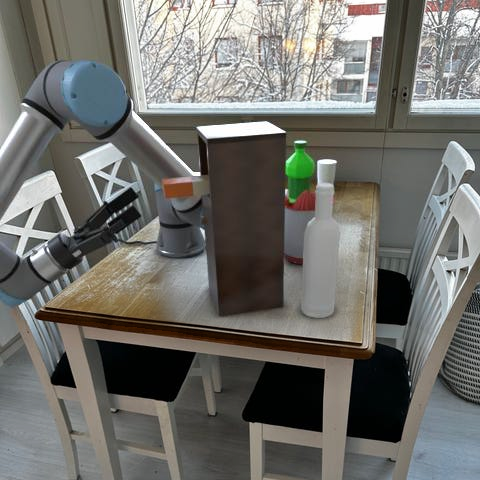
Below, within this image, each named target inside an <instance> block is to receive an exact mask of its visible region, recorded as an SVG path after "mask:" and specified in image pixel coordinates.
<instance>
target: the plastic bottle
mask: <svg viewBox="0 0 480 480" xmlns="http://www.w3.org/2000/svg"><path fill="white" fill-rule="evenodd" d="M307 146H308V142H307V141H306V140H295V141H294V142H293V149H294V151H295V152H294V153H292V155H290V157H289V158H288V159H286V177H287V189H288V190H289V199H290V202H292V203H293V202H295V201H296V199H297V198H298V197H299V196H300V195H301V194H302V193H303V192H304V191H305V190H308V191H310V192H311V176H312V175H313V174H314V172H315V167H316V163H315V161H314V159H313V158H312V157H311V156H310V155H309V154H308V153H306V148H307Z"/></svg>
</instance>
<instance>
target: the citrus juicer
mask: <svg viewBox="0 0 480 480" xmlns="http://www.w3.org/2000/svg"><path fill="white" fill-rule="evenodd" d="M315 203H316V194H315V192H311V190H310V191H308V190H305V191H304V192H303V193H302V194H301V195H300V196H299V197H298V198H297V199H296V201H295V202H293V203H292V202H290V199H289V198H288V197H287V196H285V235H284V259H286V261H289V262H290V263H294V264H297V265H303V253H304V233H305V230H306V227H307V225H308V222H310V221H311V220H312V219H313V218H314V217H315ZM335 203H336V200H335V199H334V198H333V207H332V218H333V219H334V207H335V206H334V205H335Z"/></svg>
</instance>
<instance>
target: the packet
mask: <svg viewBox="0 0 480 480" xmlns="http://www.w3.org/2000/svg"><path fill="white" fill-rule="evenodd" d="M162 183H163V192H164V195H165V198H166V199H167V198H177V197H187V196H198V195H208V194H210V188H209V175H200V176H190V177H179V178H169V179H162Z"/></svg>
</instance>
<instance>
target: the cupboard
mask: <svg viewBox="0 0 480 480" xmlns="http://www.w3.org/2000/svg"><path fill="white" fill-rule="evenodd" d="M196 138H197V139H196V140H197V152H198V153H197V154H198V166H199V173H200V175H209V188H210V194H208V195H202V204H203V217H201V218H200V219H201V224H202V225H204V230H203V231H204V239H205V245H206V247H205V253H206V254H205V255H206V267H207V279H208V290H209V293H210V296H211V298H212V302H213V304H214V306H215V307H214V308H215V309H216V313H217V315H218V317H224V316H231V315H238V314H244V313H252V312H259V311H265V310H272V309H278V308H284V285H285V282H284V281H285V256H284V235H285V189H286V177H287V174H286V161H287V132H286V131H285V130H283V129H281V128H279V127H277V126H276V125H274V124H272V123H270V122H268V121H257V122H244V123H231V124H217V125H205V126H196Z"/></svg>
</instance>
